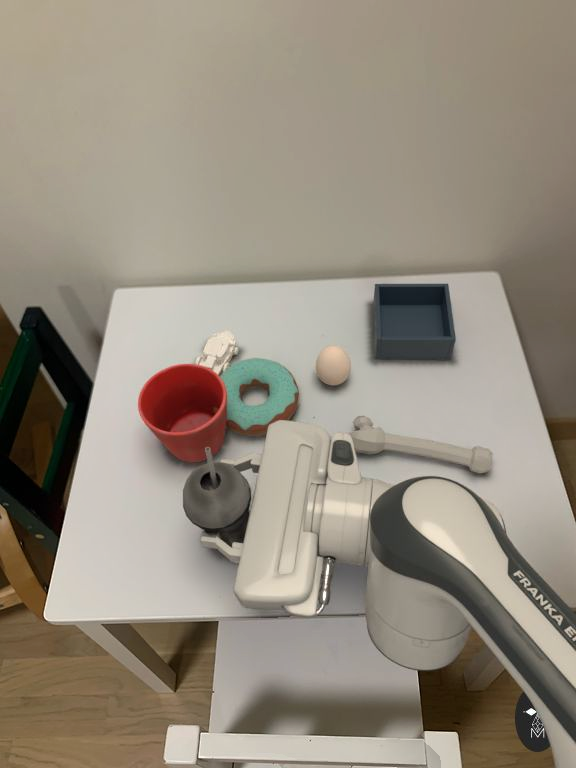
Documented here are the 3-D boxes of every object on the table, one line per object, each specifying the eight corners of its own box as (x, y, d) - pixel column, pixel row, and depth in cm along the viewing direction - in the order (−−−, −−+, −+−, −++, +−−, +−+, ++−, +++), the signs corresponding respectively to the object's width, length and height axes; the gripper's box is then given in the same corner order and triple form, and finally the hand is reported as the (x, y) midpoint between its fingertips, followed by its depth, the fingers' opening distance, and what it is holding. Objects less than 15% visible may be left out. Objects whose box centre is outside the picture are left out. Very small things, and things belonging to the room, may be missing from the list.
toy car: (193, 377, 86) (187, 359, 83) (214, 336, 90) (209, 317, 87) (224, 384, 85) (219, 367, 81) (243, 342, 89) (240, 324, 86)
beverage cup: (192, 553, 71) (149, 481, 54) (218, 500, 75) (185, 417, 58) (247, 575, 69) (220, 506, 53) (271, 519, 73) (253, 438, 56)
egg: (316, 394, 83) (315, 365, 77) (315, 366, 86) (314, 336, 80) (351, 392, 83) (352, 363, 77) (349, 365, 85) (350, 335, 80)
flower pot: (185, 393, 84) (170, 350, 76) (251, 422, 81) (242, 381, 73) (140, 451, 79) (119, 412, 71) (208, 486, 76) (194, 449, 68)
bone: (343, 454, 77) (343, 440, 74) (353, 421, 80) (354, 406, 77) (484, 492, 73) (491, 479, 70) (490, 456, 76) (497, 442, 73)
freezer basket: (443, 304, 91) (448, 283, 87) (450, 360, 85) (455, 339, 81) (373, 304, 92) (374, 283, 88) (375, 359, 86) (376, 339, 82)
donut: (196, 405, 83) (191, 389, 80) (259, 356, 87) (256, 338, 84) (254, 458, 78) (250, 442, 74) (317, 402, 82) (316, 385, 79)
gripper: (327, 629, 58) (192, 607, 60) (349, 448, 70) (235, 435, 72) (327, 612, 53) (179, 589, 55) (350, 419, 65) (227, 406, 67)
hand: (211, 500), depth 64 cm, fingers closed on beverage cup, 6 cm apart
